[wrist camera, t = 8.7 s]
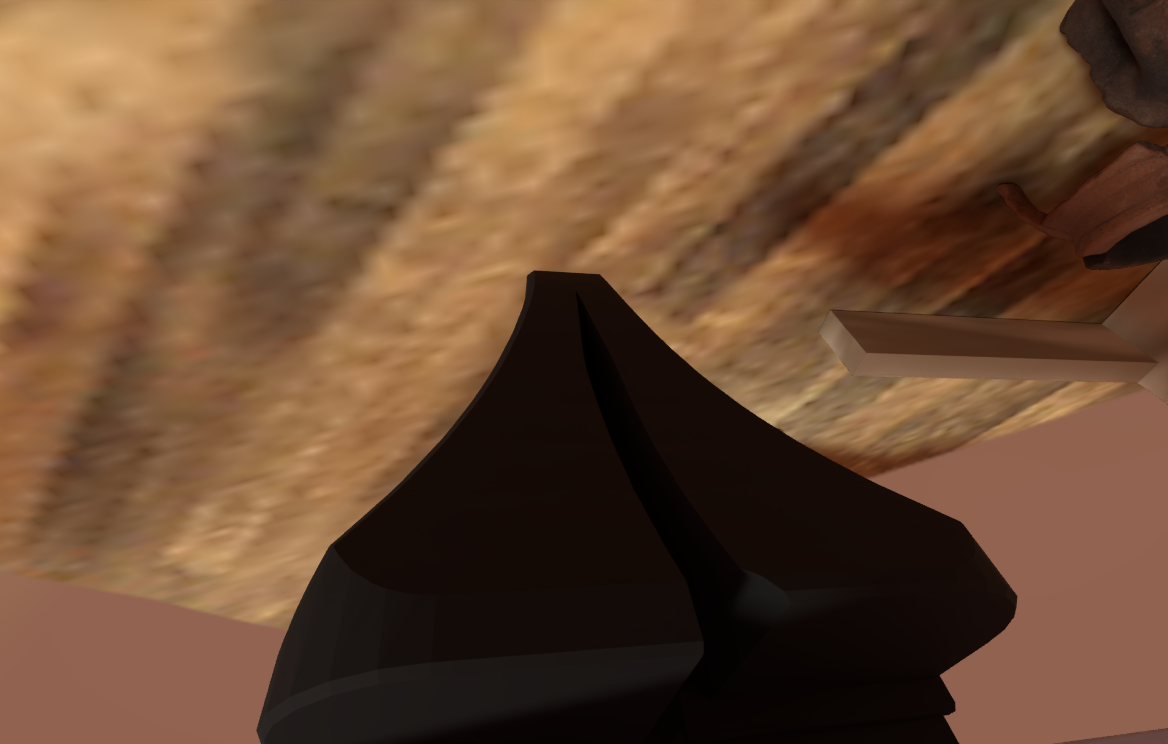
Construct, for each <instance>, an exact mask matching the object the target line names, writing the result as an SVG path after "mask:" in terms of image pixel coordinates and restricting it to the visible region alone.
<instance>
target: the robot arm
mask: <svg viewBox="0 0 1168 744" xmlns="http://www.w3.org/2000/svg"><path fill="white" fill-rule="evenodd" d="M1016 605H1017V595H1016V594H1015V592H1014V591H1013V590H1012V588H1010V586H1009V584H1008V583H1007V582H1006V581H1005V579H1004V578H1003V576H1002V575H1001V574H1000V572H999V571H998V570H997V568H996V567H995V566H994V564H993V563H992V562H991V560H990V559H989V558H988V556H987V555H986V554H985V552H984V551H983V550H982V549H981V547H980V546H979V545H978V543H977V542H976V541H975V539H974V538H973V537H972V535H971V534H970V533H969V531H968V530H967V529H966V527H965V526H964V525H963V524H962V523H961V522H960V521H958V520H956V519H953V518H951V517H949V516H947V515H944V514H942V513H940V512H938V511H936V510H934V509H931V508H929V507H927V506H925V505H923V504H920V503H918V502H916V501H914V500H911V499H909V498H907V497H905V496H903V495H900V494H898V493H896V492H894V491H891V490H889V489H887V488H885V487H882V486H880V485H878V484H876V483H874V482H872V481H870V480H868V479H866V478H864V477H862V476H860V475H858V474H857V473H855V472H853V471H851V470H849V469H847V468H845V467H843V466H841V465H839V464H837V463H836V462H834V461H832V460H830V459H828V458H826V457H824V456H822V455H821V454H819V453H817V452H815V451H814V450H812V449H810V448H808V447H807V446H805V445H803V444H801V443H800V442H798V441H796V440H794V439H793V438H791V437H790V436H788V435H786V434H785V433H783V432H782V431H780V430H778V429H777V428H775V427H774V426H772V425H770V424H769V423H767V422H766V421H764V420H762V419H761V418H759V417H758V416H756V415H755V414H753V413H752V412H750V411H749V410H747V409H746V408H745V407H743V406H742V405H740V404H739V403H737V402H736V401H735V400H733V399H732V398H731V397H729V396H728V395H727V394H725V393H724V392H723V391H721V390H720V389H719V388H717V387H716V386H715V385H713V384H712V383H711V382H709V381H708V380H707V379H706V378H704V377H703V376H702V375H701V374H700V373H698V372H697V371H696V370H695V369H694V368H692V367H691V366H690V365H689V364H688V363H687V362H686V361H685V360H683V359H682V358H681V357H680V356H679V355H678V354H677V353H676V352H674V351H673V350H672V349H671V348H670V347H669V346H668V345H667V344H666V343H665V342H664V341H663V340H662V339H661V338H660V337H658V336H657V335H656V334H655V333H654V332H653V331H652V330H651V329H650V328H649V326H648V325H647V324H646V323H645V322H644V321H643V320H642V319H641V318H640V317H639V316H638V315H637V314H636V313H635V312H634V311H633V310H632V309H631V308H630V307H629V305H628V304H627V303H626V302H625V301H624V300H623V299H622V298H621V297H620V296H619V295H618V293H617V292H616V291H615V290H614V289H613V288H612V287H611V286H610V285H609V284H608V282H607V281H606V280H605V279H604V278H603V277H602V276H601V275H600V274H585V273H568V272H551V271H533V272H531V273H530V274H529V275H527V283H526V295H525V301H524V305H523V308H522V311H521V313H520V316H519V318H518V321H517V323H516V326H515V328H514V331H513V333H512V335H511V337H510V339H509V341H508V343H507V345H506V347H505V349H504V351H503V353H502V355H501V356H500V358H499V360H498V362H497V364H496V366H495V367H494V369H493V371H492V372H491V374H490V375H489V377H488V379H487V380H486V382H485V383H484V385H483V386H482V388H481V389H480V391H479V392H478V394H477V395H476V396H475V398H474V399H473V401H472V402H471V403H470V405H469V406H468V407H467V409H466V410H465V411H464V412H463V414H462V415H461V416H460V418H459V419H458V420H457V421H456V423H455V424H454V425H453V427H452V428H451V429H450V430H449V431H448V432H447V434H446V435H445V436H444V437H443V438H442V439H441V441H440V442H439V443H438V444H437V445H436V446H435V447H434V448H433V449H432V450H431V451H430V452H429V453H428V454H427V456H426V457H425V458H424V459H423V460H422V461H421V462H420V463H419V464H418V465H417V466H416V467H415V468H414V469H413V470H412V471H411V472H410V473H409V474H408V475H407V477H406V478H405V479H404V480H403V481H402V482H401V483H400V484H399V485H398V486H396V487H395V488H394V489H393V490H392V491H391V492H390V493H389V494H388V495H387V496H386V497H385V498H384V499H382V500H381V501H380V502H379V503H378V504H377V505H376V506H374V507H373V508H372V509H371V510H370V511H369V512H368V513H367V514H365V515H364V516H363V517H362V518H361V519H360V520H359V521H358V522H356V523H355V524H354V525H353V526H352V527H351V528H350V529H348V530H347V531H346V532H345V533H344V534H343V535H342V536H341V537H339V538H338V539H337V540H336V541H335V542H334V543H332V544H331V545H330V546H329V548H328V550H327V551H326V553H325V555H324V557H323V558H322V560H321V562H320V564H319V566H318V568H317V570H316V571H315V573H314V575H313V577H312V579H311V581H310V583H309V584H308V586H307V589H306V591H305V593H304V595H303V597H302V599H301V601H300V603H299V605H298V607H297V609H296V612H295V614H294V616H293V619H292V621H291V624H290V626H289V629H288V631H287V633H286V636H285V638H284V641H283V643H282V646H281V648H280V651H279V654H278V657H277V660H276V664H275V667H274V671H273V674H272V678H271V681H270V685H269V689H268V692H267V695H266V699H265V702H264V706H263V709H262V713H261V716H260V720H259V723H258V727H257V733H258V736H259V739H260V742H261V744H959V743H958V741H957V739H956V737H955V735H954V734H953V732H952V730H951V728H950V726H949V725H948V723H947V721H946V719H945V718H944V716H943V715H949V714H951V713H953V712H955V701H954V700H953V698H952V696H951V695H950V693H949V691H948V689H947V688H946V686H945V684H944V682H943V681H942V679H941V677H940V676H939V675H941V674H942V673H944V672H945V671H946V670H948V669H949V668H951V667H952V666H954V665H955V664H957V663H958V662H960V661H961V660H963V659H964V658H966V657H967V656H969V655H970V654H972V653H973V652H975V651H976V650H978V649H979V648H981V647H982V646H984V645H985V644H987V643H988V642H989V641H991V640H992V639H993V638H994V637H996V636H997V635H998V634H999V633H1001V632H1002V631H1003V630H1005V628H1006V627H1007V626H1008V624H1009V623H1010V622H1011V620H1012V619H1013V618H1014V615H1015V611H1016ZM1055 744H1168V728H1166V729H1158V730H1150V731H1143V732H1136V733H1129V734H1121V735H1114V736H1106V737H1099V738H1092V739H1084V740H1077V741H1070V742H1062V743H1055Z"/></svg>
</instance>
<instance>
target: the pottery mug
mask: <svg viewBox="0 0 1168 744" xmlns="http://www.w3.org/2000/svg"><path fill="white" fill-rule="evenodd" d="M1060 32H1062V33H1064V34H1066V35H1067V42H1068V44H1069V45H1070V46H1072V47H1073V48H1074V49H1075V50H1076V51H1077V52H1079V53H1080V54H1081V55H1082V57H1083V59H1085V60H1086V61H1087V62H1088V63H1089V64H1090V66H1091V70H1090V76H1091V78H1092V80H1093V82H1094V84H1095V85H1096V86H1097V87H1098V88H1099V89H1100V91H1101V92H1102V99H1103V102H1104V103H1105V104H1106V106H1107V108H1109V109H1110V110H1111V111H1113V112H1115V113H1117V114H1120V115H1122V116H1125V117H1127V118H1130V119H1131V120H1133V121H1134V122H1136V123H1137V124H1139V125H1141V126H1146V127H1150V128H1164V127H1168V0H1075V2H1074V3H1073V5H1072V6H1071V7H1070V9H1069V10H1068V11H1067V13H1066V15H1065V17H1064V19H1063V21H1062V22H1061V25H1060ZM997 191H998V193H999V194H1000V195H1001V196H1002V197H1003V198H1004V202H1005V204H1006V205H1007V206H1008V207H1009V208H1010V209H1011V210H1013V211H1015V213H1016V216H1017V217H1018V218H1019V219H1020V220H1021V221H1022V222H1024V223H1026V224H1029V225H1031V226H1033V227H1034V228H1036V229H1038V230H1039V231H1041V232H1043V233H1045V234H1047V235H1051V236H1052V237H1054V238H1059V239H1064V240H1068V241H1070V242H1073V243H1074V245H1075V253H1076V255H1078V256H1080V257H1083V260H1084V263H1085V266H1086V268H1088V269H1091V270H1110V269H1121V268H1127V267H1132V266H1139V265H1144V264H1149V263H1153V262H1158V261H1163V260H1168V144H1167V145H1166V146H1163V147H1160V146H1158V145H1157V144H1151V143H1149V142H1146V141H1139V142H1135V143H1134V144H1132V145H1131V146H1130V147H1128V148H1127V149H1126V150H1125V151H1123V152H1122V153H1121V154H1120V155H1119V156H1118V157H1117V158H1116V159H1115V160H1114V161H1112V162H1111V163H1110V164H1109V165H1108V166H1107V167H1105V168H1104V169H1103V170H1101V171H1099V172H1097V173H1095V174H1093V175H1092V176H1091V177H1090V178H1088V179H1087V180H1086V181H1085V182H1084V183H1083V184H1082V185H1081V186H1080V188H1079V189H1078V191H1077V192H1076V193H1075V194H1074V195H1073V196H1072V197H1071V198H1070V199H1068V200H1066V201H1064V202H1062V203H1060V204H1059V205H1058V206H1056V207H1055V208H1054V209H1053V210H1052V211H1051V212H1050V213H1049V214H1045V213H1043V212H1041V211H1039V210H1038V209H1036V207H1034V206H1033V205H1032V204H1031V202H1030V201H1029V200H1028V199H1027V197H1026V196H1025V195H1024V193H1023V192H1022V190H1021V189H1020V188H1019V187H1018V186H1017V185H1014V184H1001V185H999V186H998V187H997Z"/></svg>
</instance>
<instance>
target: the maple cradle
mask: <svg viewBox="0 0 1168 744" xmlns="http://www.w3.org/2000/svg"><path fill="white" fill-rule="evenodd" d="M819 333H820V334H821V336H822V337H823V338H824V340H825V341H826V342H827V343H828V345H829V346H830V347H831V349H832V350H833V351H834V353H835V354H836V355H837V356H838V358H839V359H840V360H841V362H842V363H843V364H844V365H845V367H846V368H847V369H848V371H849V372H850V373H851V375H852V376H883V377H923V378H964V379H1005V380H1045V381H1086V382H1126V383H1139V384H1140V385H1141V386H1143V387H1144V388H1145V389H1147V390H1148V391H1149V392H1151V393H1152V394H1154V395H1155V396H1156V397H1158V398H1159V399H1160V400H1162V401H1163V402H1165V403H1166V404H1167V405H1168V260H1163V261H1161V262H1160V263H1159V264H1158V265H1157V266H1156V268H1155V269H1154V270H1153V271H1152V272H1151V273H1150V274H1149V275H1148V276H1147V277H1146V278H1145V279H1144V280H1143V281H1142V282H1141V283H1140V284H1139V285H1138V286H1137V288H1136V289H1135V290H1134V291H1133V292H1132V293H1131V294H1130V295H1129V296H1128V297H1127V298H1126V299H1125V300H1124V301H1123V302H1122V303H1121V304H1120V305H1119V306H1118V308H1117V309H1116V310H1115V311H1114V312H1113V313H1112V314H1111V315H1110V316H1109V317H1108V318H1107V319H1106V320H1105V321H1104V322H1103V323H1102V324H1093V323H1073V322H1053V321H1034V320H1014V319H994V318H975V317H955V316H936V315H916V314H896V313H877V312H857V311H837V310H830V312H829V314H828V316H827V318H826V319H825V321H824V323H823V325H822V327H821V329H820V331H819Z"/></svg>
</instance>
